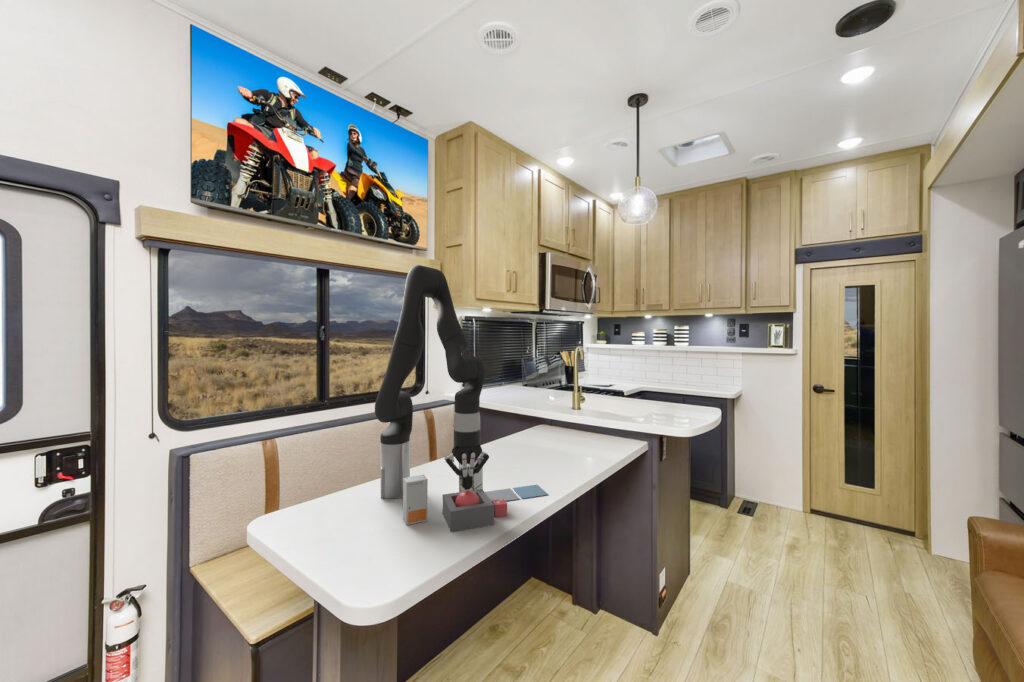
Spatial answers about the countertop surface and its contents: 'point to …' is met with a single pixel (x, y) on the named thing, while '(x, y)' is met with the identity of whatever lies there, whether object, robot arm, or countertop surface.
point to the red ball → (467, 499)
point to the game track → (521, 491)
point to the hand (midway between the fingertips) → (467, 488)
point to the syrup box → (473, 480)
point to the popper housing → (472, 512)
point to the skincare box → (415, 499)
